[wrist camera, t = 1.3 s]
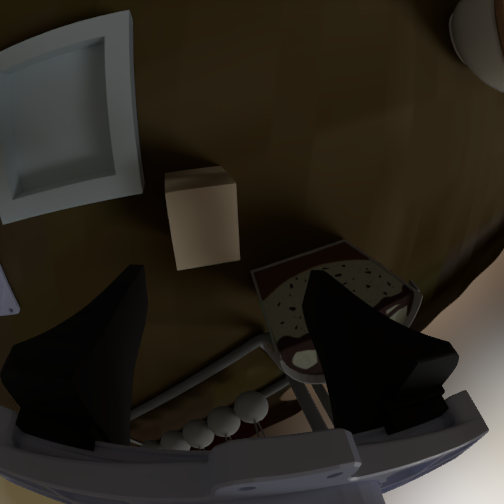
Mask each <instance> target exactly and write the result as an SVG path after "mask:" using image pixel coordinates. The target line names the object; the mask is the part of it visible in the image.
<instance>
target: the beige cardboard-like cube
mask: <svg viewBox="0 0 504 504" xmlns="http://www.w3.org/2000/svg"><path fill="white" fill-rule="evenodd" d="M165 197H166V204H167V211H168V218H169V224H170V231H171V237H172V243H173V249H174V254H175V260H176V265H177V271H178V270H184V269H190V268H196V267H202V266H208V265H214V264H220V263H226V262H231V261H237V260H240V248H239V229H238V210H237V191H236V183H235V181H234V180H233V179H232V178H231V177H230V176H229V175H228V174H227V172H226V171H225V170H224V169H223V168H222V167H221V166H213V167H205V168H197V169H189V170H182V171H175V172H168V173H165Z"/></svg>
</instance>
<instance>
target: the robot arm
mask: <svg viewBox="0 0 504 504" xmlns="http://www.w3.org/2000/svg"><path fill="white" fill-rule="evenodd" d="M147 307H148V299H147V290H146V281H145V271H144V265H131V264H130V265H129V266H128V267H127V268H126V269H125V270H124V271H123V272H122V273H121V274H120V275H119V276H118V277H117V278H116V279H115V280H114V281H113V282H112V283H111V284H110V285H109V286H108V287H107V288H106V289H105V290H104V291H103V292H102V293H101V294H99V295H98V296H97V297H96V298H95V299H94V300H93V301H92V302H91V303H89V304H88V305H87V306H86V307H84V308H83V309H82V310H80V311H79V312H78V313H76V314H75V315H73V316H72V317H70V318H69V319H67V320H65V321H64V322H62V323H61V324H59V325H57V326H56V327H54V328H52V329H50V330H48V331H46V332H44V333H42V334H40V335H38V336H36V337H34V338H31V339H29V340H26V341H24V342H21V343H18V344H16V345H13V347H12V349H11V351H10V353H9V355H8V357H7V359H6V361H5V363H4V365H3V368H2V370H1V373H0V376H1V380H2V383H3V384H4V386H5V388H6V389H7V390H8V392H9V393H10V394H11V396H12V397H13V398H14V400H15V401H16V402H17V403H18V405H19V406H20V407H21V408H20V411H19V414H17V413H16V412H14V411H13V410H11V409H8V408H6V407H3V406H0V475H1V476H2V477H4V478H5V479H7V480H8V481H10V482H12V483H14V484H17V485H19V486H22V487H24V488H26V489H28V490H31V491H33V492H36V493H38V494H41V495H43V496H46V497H49V498H51V499H54V500H57V501H60V502H63V503H66V504H385V501H384V499H383V496H382V494H383V493H385V492H388V491H390V490H393V489H395V488H397V487H400V486H402V485H404V484H406V483H408V482H410V481H412V480H415V479H417V478H419V477H421V476H423V475H425V474H427V473H429V472H431V471H433V470H435V469H436V468H438V467H440V466H442V465H444V464H446V463H447V462H449V461H451V460H453V459H455V458H456V457H458V456H459V455H460V454H462V453H463V452H464V451H466V450H467V449H468V448H469V447H471V446H472V445H473V444H474V443H476V442H477V441H478V440H479V439H480V438H482V437H483V436H484V435H485V434H486V433H487V432H488V431H489V429H488V427H487V425H486V423H485V422H484V420H483V418H482V416H481V415H480V413H479V411H478V409H477V407H476V406H475V404H474V403H473V401H472V400H471V397H470V396H469V394H468V392H467V391H466V390H464V391H462V392H459V393H457V394H455V395H452V396H450V397H448V398H447V399H446V400H444V398H443V397H442V395H443V394H444V392H445V390H444V389H443V387H442V385H443V383H444V382H445V381H446V379H447V378H448V377H449V376H450V375H451V373H452V372H453V370H454V369H455V368H456V366H457V363H458V360H459V355H458V354H457V352H456V351H455V349H454V348H453V347H452V345H451V344H450V342H447V341H444V340H440V339H437V338H434V337H431V336H428V335H425V334H423V333H420V332H417V331H415V330H413V329H410V328H408V327H406V326H404V325H402V324H400V323H398V322H396V321H394V320H392V319H390V318H389V317H387V316H385V315H384V314H382V313H380V312H379V311H377V310H376V309H374V308H373V307H371V306H370V305H368V304H367V303H366V302H364V301H363V300H362V299H360V298H359V297H358V296H356V295H355V294H354V293H352V292H351V291H350V290H349V289H347V288H346V287H345V286H344V285H342V284H341V283H340V282H339V281H337V280H336V279H335V278H334V277H332V276H331V275H330V274H329V273H327V272H326V271H324V270H311V272H310V276H309V280H308V284H307V288H306V291H305V295H304V299H303V302H302V310H303V315H304V319H305V323H306V326H307V329H308V332H309V334H310V337H311V339H312V342H313V345H314V347H315V350H316V352H317V355H318V357H319V360H320V363H321V366H322V369H323V372H324V376H325V380H326V384H327V388H328V393H329V398H330V403H331V409H332V415H333V422H334V429H324V430H318V431H312V432H306V433H298V434H290V435H281V436H272V437H259V438H246V439H239V440H231V441H227V442H225V443H222V444H219V445H216V446H215V447H214V448H213V449H212V450H211V451H185V450H166V449H153V448H142V447H134V446H130V412H131V395H132V383H133V374H134V368H135V363H136V358H137V354H138V350H139V346H140V342H141V338H142V334H143V330H144V326H145V322H146V315H147ZM12 309H13V310H12ZM19 311H20V307H19V305H18V303H17V301H16V299H15V297H14V295H13V292H12V290H11V288H10V286H9V284H8V281H7V279H6V277H5V274H4V272H3V270H2V267H1V265H0V316H4V315H12V314H18V313H19Z"/></svg>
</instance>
